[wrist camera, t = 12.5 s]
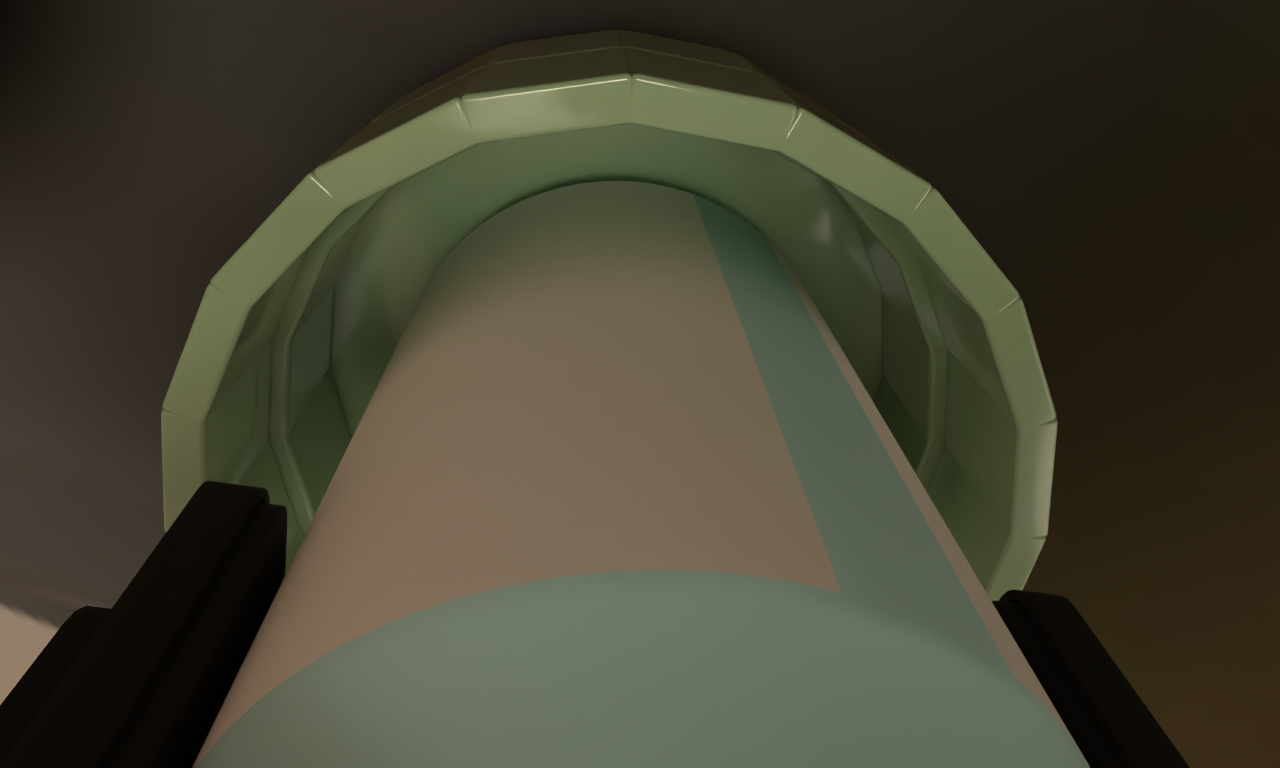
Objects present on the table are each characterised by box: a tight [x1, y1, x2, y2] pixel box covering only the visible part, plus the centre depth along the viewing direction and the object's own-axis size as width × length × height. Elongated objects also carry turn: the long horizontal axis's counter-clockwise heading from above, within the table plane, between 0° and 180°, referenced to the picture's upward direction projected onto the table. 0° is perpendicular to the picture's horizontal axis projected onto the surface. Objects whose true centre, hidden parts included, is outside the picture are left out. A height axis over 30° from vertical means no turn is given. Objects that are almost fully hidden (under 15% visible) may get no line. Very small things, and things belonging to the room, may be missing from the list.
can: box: [192, 181, 1090, 768], centre depth 11 cm, size 7×7×12 cm
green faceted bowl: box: [161, 29, 1058, 601], centre depth 14 cm, size 11×11×6 cm
